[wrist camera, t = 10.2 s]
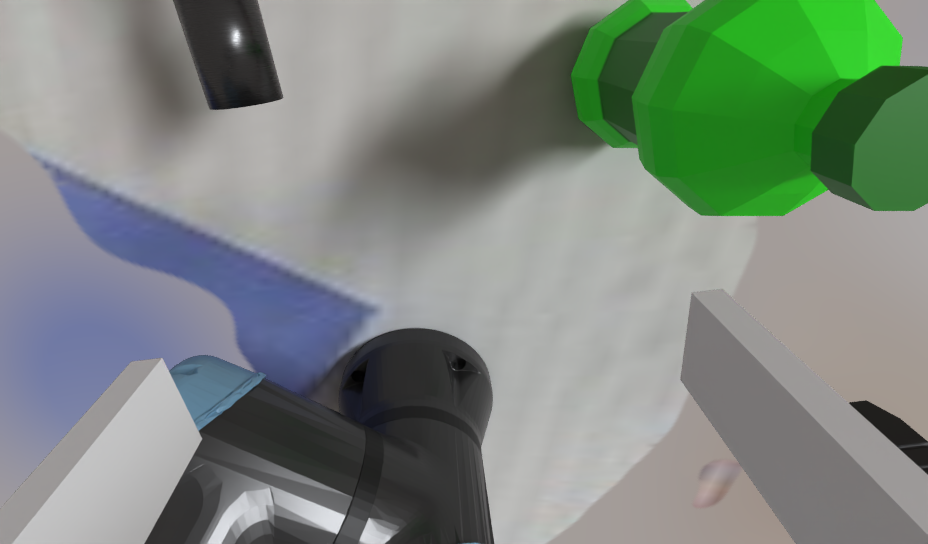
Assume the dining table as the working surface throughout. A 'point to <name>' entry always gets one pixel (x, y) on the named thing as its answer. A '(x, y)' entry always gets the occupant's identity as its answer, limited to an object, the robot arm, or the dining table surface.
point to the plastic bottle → (760, 102)
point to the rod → (230, 52)
